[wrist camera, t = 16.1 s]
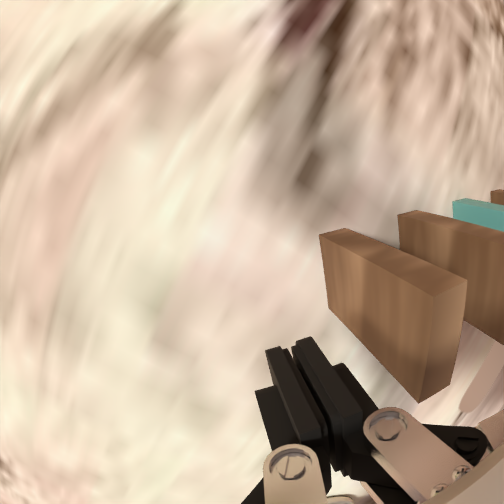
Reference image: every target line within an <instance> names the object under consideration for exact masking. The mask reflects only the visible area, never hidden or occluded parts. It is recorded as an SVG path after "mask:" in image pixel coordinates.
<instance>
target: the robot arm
mask: <svg viewBox="0 0 504 504" xmlns="http://www.w3.org/2000/svg"><path fill="white" fill-rule="evenodd" d="M291 349H292V354H293V358H292V356H291V354H290V352H289V350H288V349H287V348H286V349H282V348H281V347H280V346H278V347H275V348H272V349H268V350H265V353H266V357H267V361H268V365H269V369H270V373H271V377H272V381H273V384H274V386H271V387H267V388H264V389H260V390H257V391H255V394H256V398H257V401H258V405H259V408H260V412H261V415H262V419H263V422H264V425H265V429H266V432H267V435H268V439H269V442H270V445H271V449H272V452H271V453H270V454H269V455H268V456H267V457H266V459H265V461H264V465H263V478H262V480H261V481H260V482H259V483H258V484H257V486H256V487H255V488H254V489H253V490H252V492H251V493H250V494H249V495H248V496H247V497H246V498H245V500H244V501H243V502H242V503H241V504H354V502H353V501H352V499H351V498H349V497H344V496H341V497H330V498H327V497H326V495H327V494H328V492H329V490H330V489H331V487H332V483H331V466H330V463H331V465H332V467H333V469H334V471H335V472H337V471H339V470H341V472H342V474H343V476H344V477H345V476H347V475H349V476H350V478H351V479H353V480H357V481H360V483H361V485H362V486H363V487H364V489H365V490H366V491H367V492H368V493H369V495H370V496H371V497H372V498H373V499H374V501H375V502H376V503H377V504H504V410H502V411H500V412H498V413H496V414H495V415H493V416H491V417H489V418H487V419H485V420H483V421H481V422H479V423H478V425H477V426H476V427H463V426H443V425H430V424H421V423H420V422H418V421H417V420H416V419H415V418H414V417H412V416H411V415H410V414H409V413H408V412H406V411H404V410H403V409H400V408H396V407H387V408H382V409H378V407H377V406H376V405H375V403H374V402H373V401H372V399H371V398H370V397H369V396H368V394H367V393H366V392H365V390H364V389H363V388H362V386H361V385H360V384H359V382H358V381H357V380H356V378H355V377H354V376H353V374H352V373H351V372H350V371H349V369H348V368H347V367H346V365H345V364H344V363H340V364H337V365H334V366H332V365H331V364H330V363H329V361H328V360H327V358H326V357H325V355H324V354H323V352H322V351H321V350H320V348H319V347H318V345H317V344H316V342H315V341H314V340H313V338H312V337H311V336H310V337H307V338H304V339H301V340H298V341H296V345H295V346H292V347H291Z"/></svg>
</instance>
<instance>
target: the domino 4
mask: <svg viewBox="0 0 504 504" xmlns="http://www.w3.org/2000/svg"><path fill="white" fill-rule="evenodd" d="M491 203H494V204H499V205H504V190H500V189H499V190H495V191H491Z"/></svg>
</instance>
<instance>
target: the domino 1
mask: <svg viewBox="0 0 504 504" xmlns="http://www.w3.org/2000/svg"><path fill="white" fill-rule="evenodd" d="M319 239H320V245H321V252H322V259H323V267H324V274H325V282H326V290H327V298H328V307H329V309H330V310H331V311H332V312H333V313H334V314H335V315H336V316H337V317H338V318H339V319H340V320H341V321H342V322H343V323H344V325H345V326H346V327H347V328H348V329H349V330H350V331H351V332H352V333H353V334H354V335H355V336H356V337H357V338H358V339H359V340H360V341H361V342H362V343H363V345H364V346H365V347H366V348H367V349H368V350H369V351H370V352H371V353H372V354H373V355H374V356H375V357H376V358H377V359H378V360H379V362H380V363H381V364H382V365H383V366H384V367H385V368H386V369H387V370H388V371H389V372H390V373H391V374H392V375H393V377H394V378H395V379H396V380H397V381H398V382H399V383H400V384H401V385H402V386H403V387H404V388H405V389H406V391H407V392H408V393H409V394H410V395H411V396H412V397H413V398H414V399H415V400H416V401H417V402H418V404H419V403H420V402H422V401H424V400H426V399H427V398H429V397H431V396H432V395H434V394H436V393H437V392H439V391H441V390H442V389H444V388H445V387H447V386H448V385H450V382H451V378H452V374H453V370H454V365H455V361H456V356H457V351H458V346H459V341H460V335H461V329H462V323H463V316H464V309H465V301H466V291H467V280H466V279H464V278H462V277H460V276H458V275H456V274H453V273H451V272H449V271H447V270H445V269H442V268H440V267H438V266H436V265H433V264H431V263H429V262H427V261H424V260H422V259H420V258H417V257H415V256H413V255H410V254H408V253H406V252H403V251H401V250H398V249H396V248H394V247H391V246H389V245H386V244H384V243H381V242H379V241H377V240H374V239H372V238H369V237H367V236H364V235H361V234H359V233H356V232H354V231H351V230H349V229H346V228H343V229H340V230H336V231H332V232H328V233H324V234H320V235H319Z"/></svg>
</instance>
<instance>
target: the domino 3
mask: <svg viewBox="0 0 504 504" xmlns="http://www.w3.org/2000/svg"><path fill="white" fill-rule="evenodd" d="M453 219H457V220H461V221H465V222H469V223H473V224H477V225H480V226H484V227H488V228H491V229H495V230H499V231H502V232H504V205H499V204H494V203H489V202H483V201H478V200H472V199H466V198H465V199H461V200H457V201H453Z"/></svg>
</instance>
